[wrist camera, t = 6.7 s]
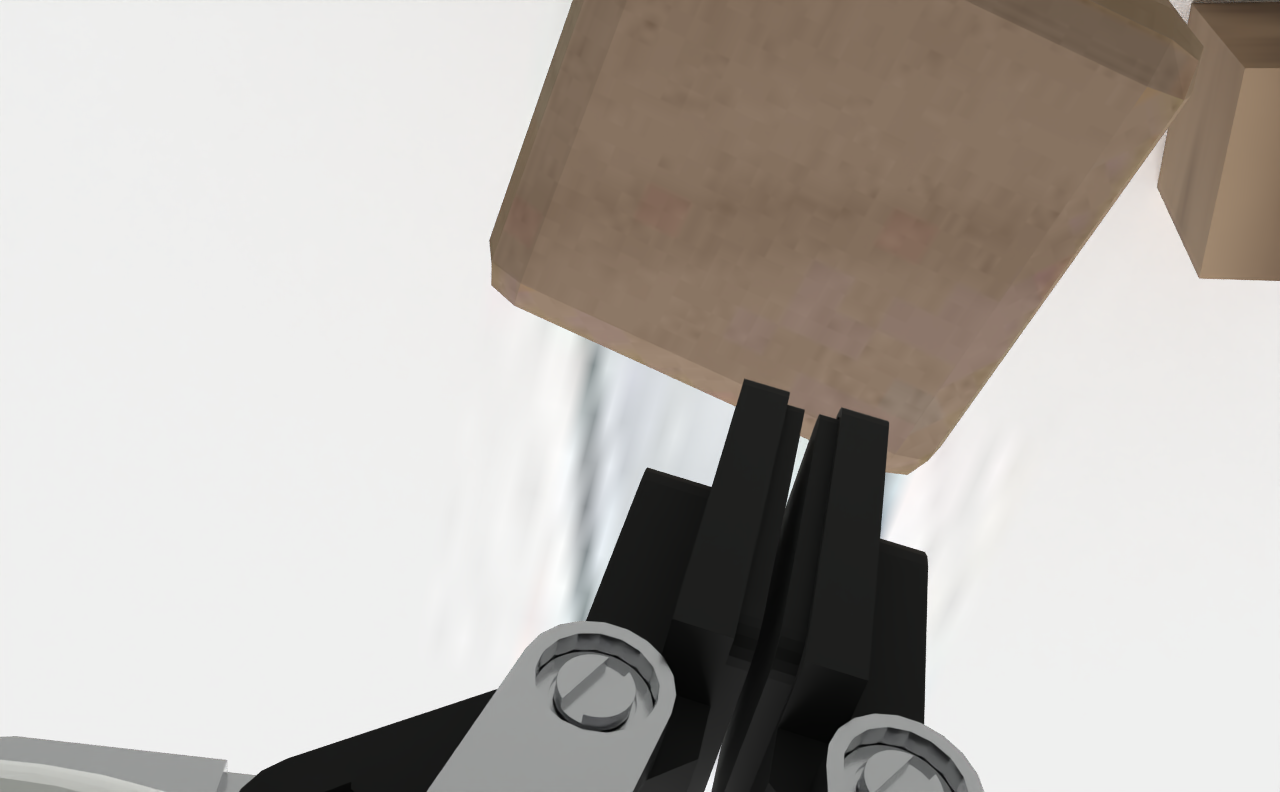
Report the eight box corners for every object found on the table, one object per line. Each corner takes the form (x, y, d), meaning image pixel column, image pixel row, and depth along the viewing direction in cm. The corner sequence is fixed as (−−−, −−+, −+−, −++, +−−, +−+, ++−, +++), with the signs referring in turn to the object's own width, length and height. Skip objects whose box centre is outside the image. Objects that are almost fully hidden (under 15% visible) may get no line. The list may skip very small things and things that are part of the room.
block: (781, -280, 33) (642, -234, 17) (1086, -133, 33) (1247, 54, 17) (656, 35, 39) (458, 302, 22) (918, 157, 39) (915, 510, 23)
